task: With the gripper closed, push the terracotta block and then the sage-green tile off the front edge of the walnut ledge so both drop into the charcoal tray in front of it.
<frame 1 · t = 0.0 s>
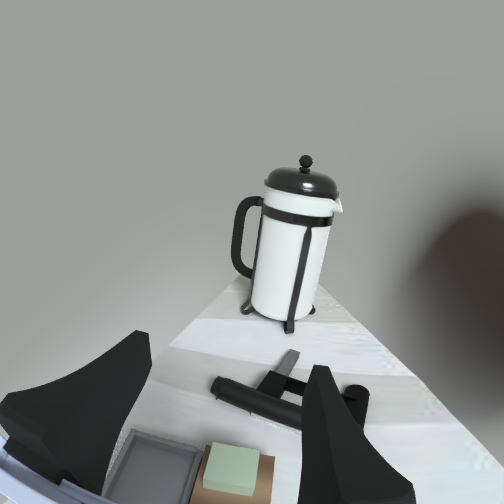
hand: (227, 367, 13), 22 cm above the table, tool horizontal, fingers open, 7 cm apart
sage tile: (230, 473, 24), point 3 cm above the table, touching walnut ledge
coffee press: (271, 312, 60), on the table
door handle: (297, 397, 39), on the table
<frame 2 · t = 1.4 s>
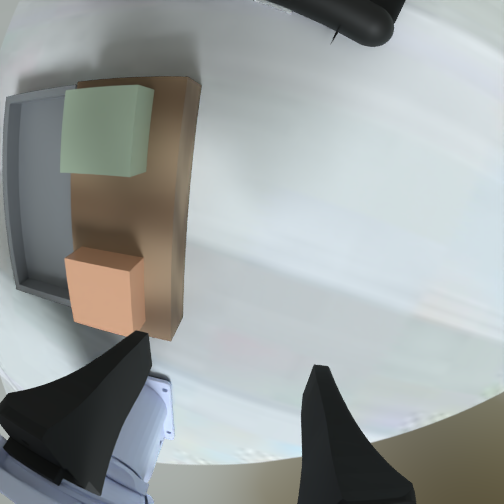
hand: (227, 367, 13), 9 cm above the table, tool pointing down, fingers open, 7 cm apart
terracotta block: (112, 284, 18), point 3 cm above the table, touching walnut ledge
sage tile: (113, 129, 15), point 3 cm above the table, touching walnut ledge
walnut ledge: (138, 205, 19), on the table
charcoal tray: (51, 195, 20), on the table
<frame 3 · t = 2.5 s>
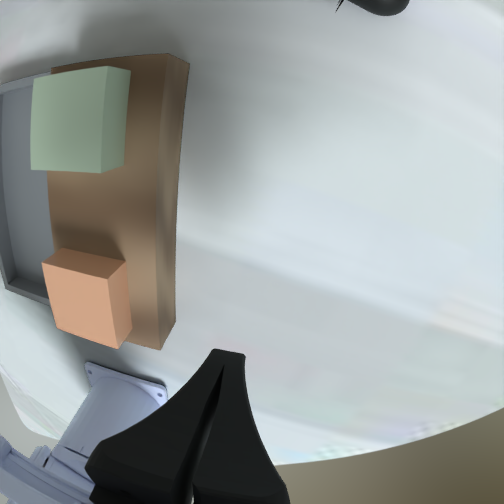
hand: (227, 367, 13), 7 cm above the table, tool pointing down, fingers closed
terracotta block: (96, 288, 16), point 3 cm above the table, touching walnut ledge
sage tile: (88, 118, 12), point 3 cm above the table, touching walnut ledge
walnut ledge: (123, 200, 17), on the table
charcoal tray: (35, 191, 18), on the table
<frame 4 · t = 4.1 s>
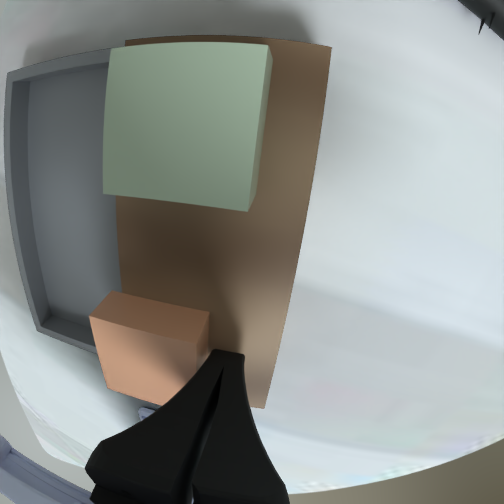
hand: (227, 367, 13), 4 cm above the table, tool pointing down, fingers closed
terracotta block: (160, 341, 13), point 3 cm above the table, touching gripper
sage tile: (195, 120, 9), point 3 cm above the table, touching walnut ledge
walnut ledge: (218, 232, 14), on the table
charcoal tray: (79, 212, 15), on the table
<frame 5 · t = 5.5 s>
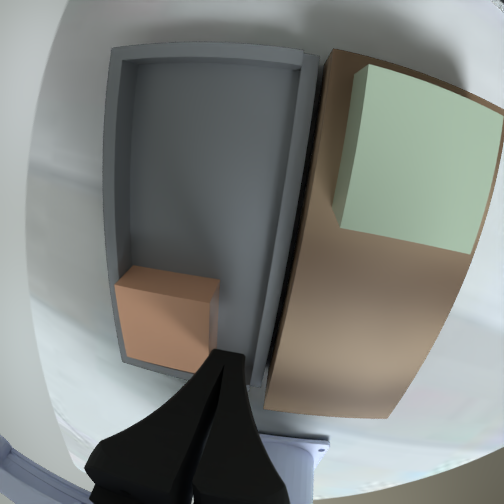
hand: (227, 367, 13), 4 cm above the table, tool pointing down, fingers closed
terracotta block: (162, 333, 14), point 3 cm above the table, tilted 180°, touching charcoal tray
sage tile: (408, 156, 9), point 3 cm above the table, touching walnut ledge
walnut ledge: (368, 257, 14), on the table
charcoal tray: (201, 229, 14), on the table
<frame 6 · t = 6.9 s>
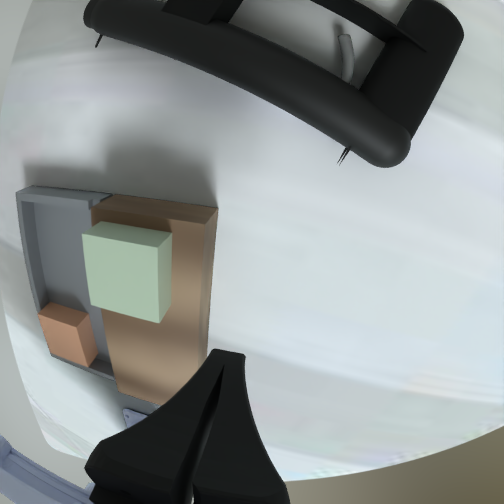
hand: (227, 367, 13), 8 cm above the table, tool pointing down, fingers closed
terracotta block: (62, 341, 22), point 3 cm above the table, tilted 180°, touching charcoal tray
sage tile: (135, 263, 17), point 3 cm above the table, touching walnut ledge
walnut ledge: (163, 307, 22), on the table
charcoal tray: (77, 285, 22), on the table
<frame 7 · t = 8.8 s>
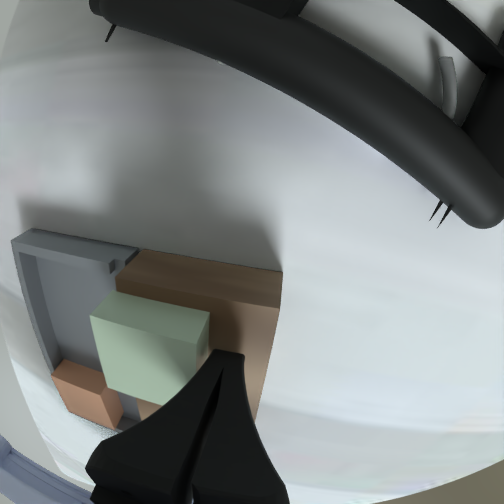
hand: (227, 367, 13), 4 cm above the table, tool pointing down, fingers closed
terracotta block: (82, 404, 18), point 3 cm above the table, tilted 180°, touching charcoal tray
sage tile: (160, 340, 13), point 3 cm above the table, touching gripper, walnut ledge
walnut ledge: (204, 374, 18), on the table
charcoal tray: (96, 345, 19), on the table
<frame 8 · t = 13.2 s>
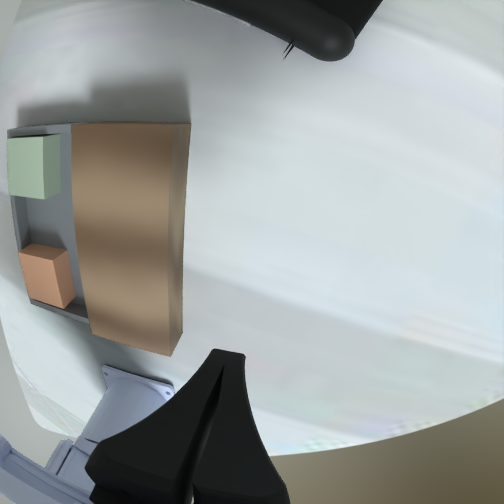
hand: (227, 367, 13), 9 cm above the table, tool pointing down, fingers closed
terracotta block: (39, 280, 21), point 3 cm above the table, tilted 180°, touching charcoal tray
sage tile: (23, 167, 17), point 3 cm above the table, tilted 180°, touching charcoal tray
walnut ledge: (138, 235, 21), on the table
charcoal tray: (58, 221, 22), on the table
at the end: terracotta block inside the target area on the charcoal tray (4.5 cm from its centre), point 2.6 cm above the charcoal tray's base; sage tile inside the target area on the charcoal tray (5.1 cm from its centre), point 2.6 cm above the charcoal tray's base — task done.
